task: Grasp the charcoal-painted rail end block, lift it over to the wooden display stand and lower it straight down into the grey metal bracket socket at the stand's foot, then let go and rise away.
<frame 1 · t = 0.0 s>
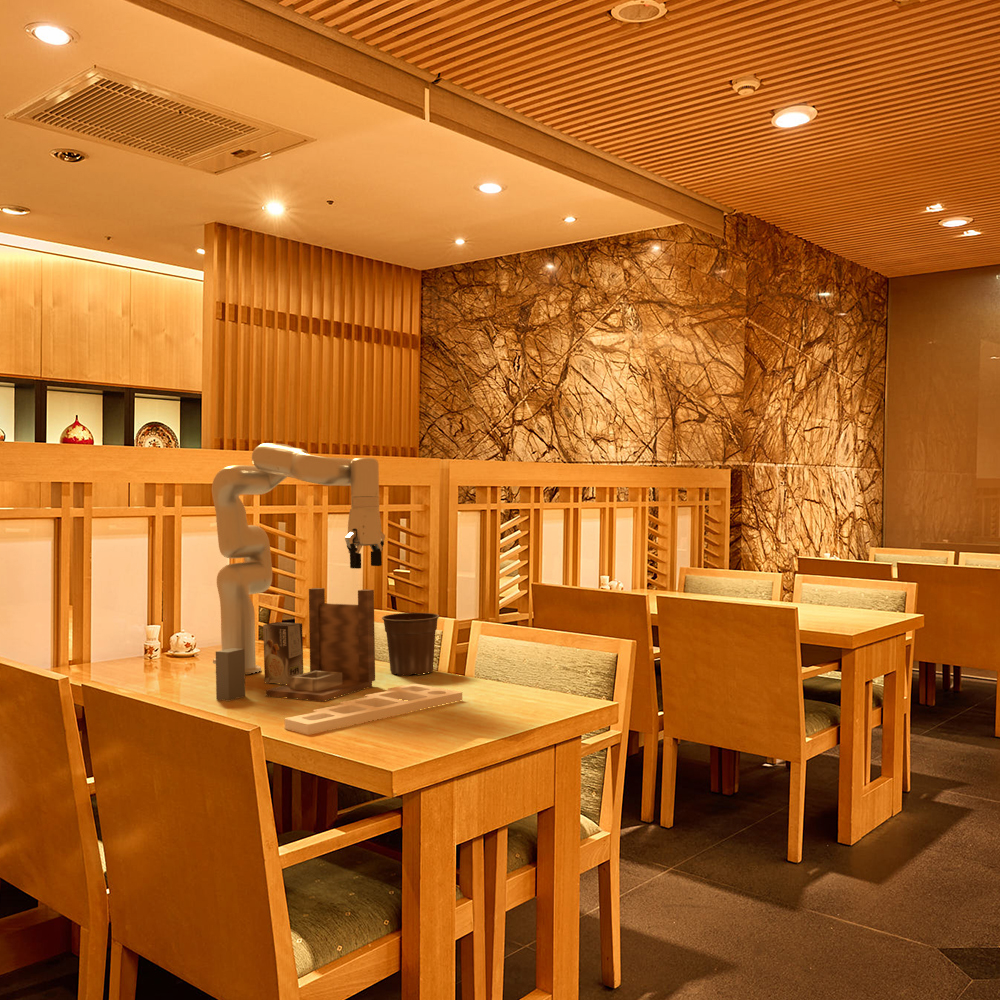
hand: (366, 567, 263), 31 cm above the table, tool pointing down, fingers open, 9 cm apart
wooden display stand: (316, 692, 251), on the table
holder: (366, 714, 227), on the table
plant pot: (411, 673, 278), on the table
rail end: (230, 697, 245), on the table
coffee box: (284, 683, 266), on the table
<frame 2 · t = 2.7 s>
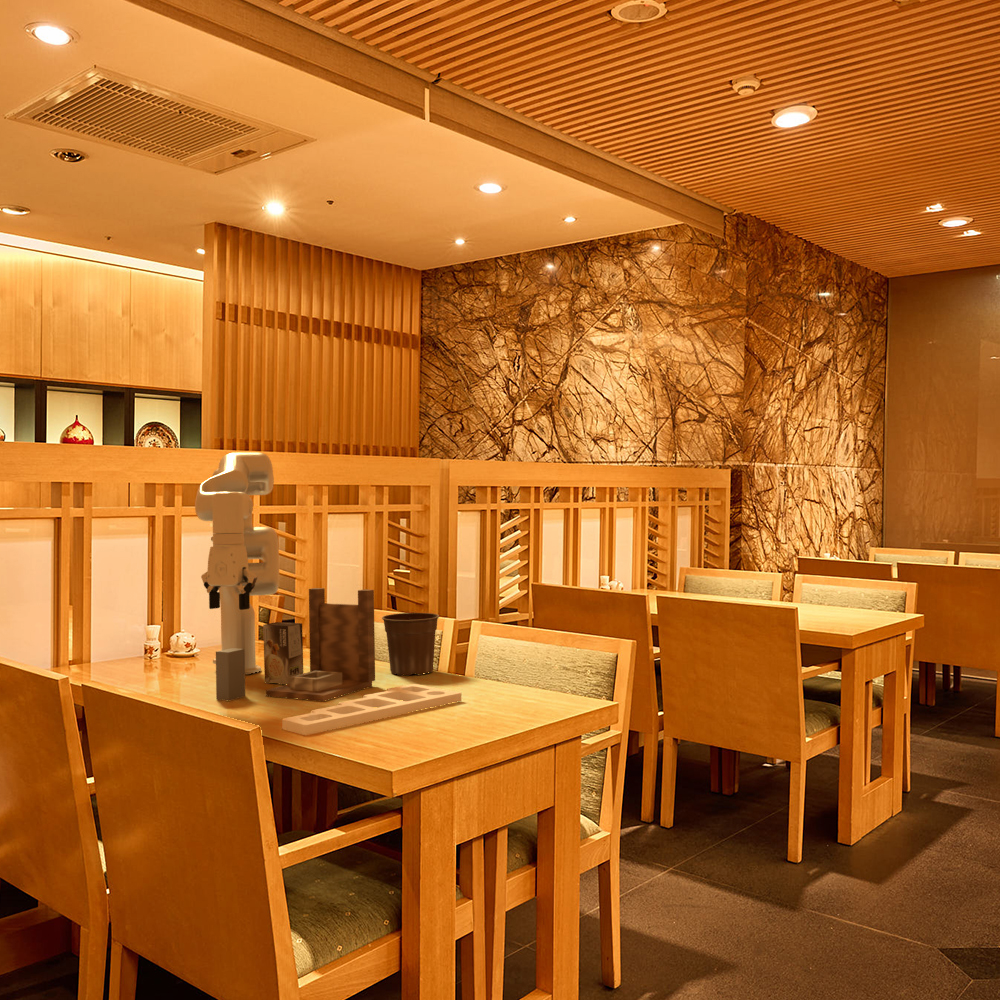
hand: (229, 608, 245), 22 cm above the table, tool pointing down, fingers open, 9 cm apart
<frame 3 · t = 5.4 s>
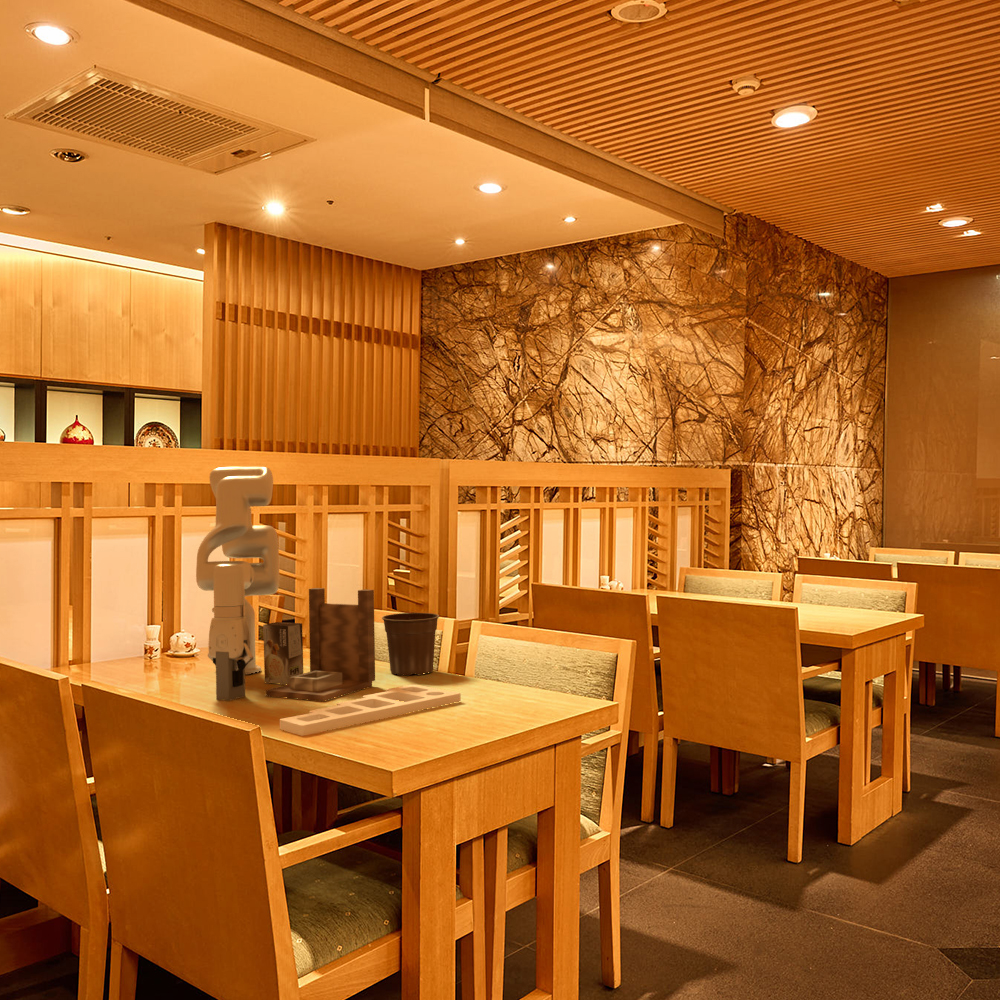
hand: (230, 684, 245), 3 cm above the table, tool pointing down, fingers closed on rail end, 4 cm apart
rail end: (230, 697, 245), on the table, touching gripper
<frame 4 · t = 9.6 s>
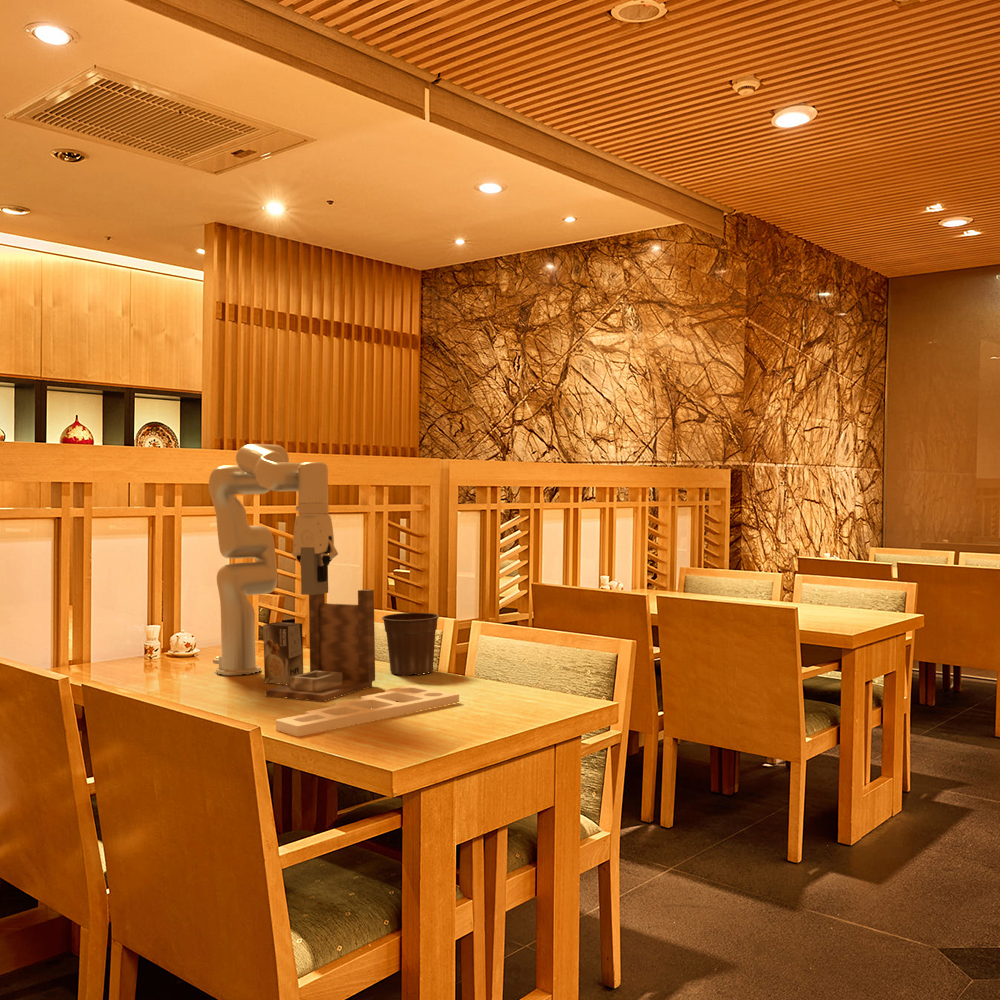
hand: (314, 580, 251), 29 cm above the table, tool pointing down, fingers closed on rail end, 4 cm apart
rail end: (314, 593, 251), point 25 cm above the table, touching gripper
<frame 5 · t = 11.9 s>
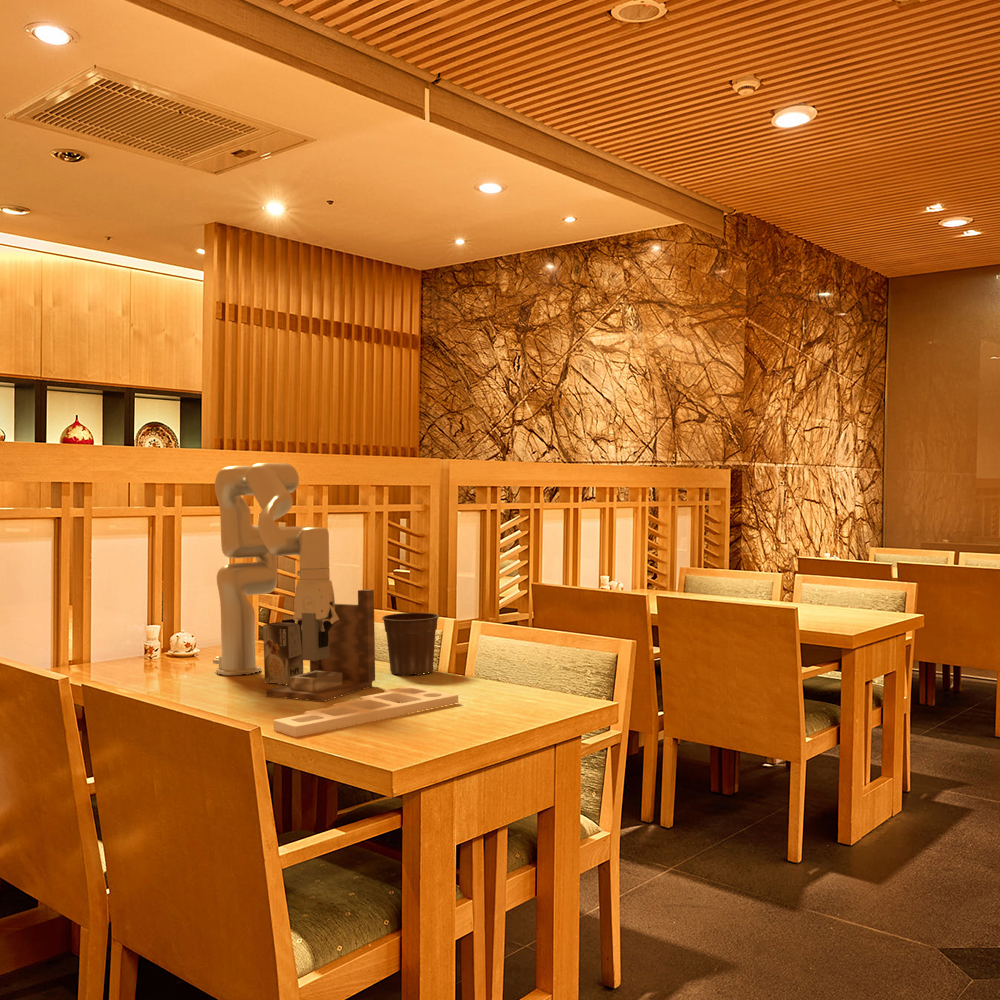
hand: (316, 645, 251), 12 cm above the table, tool pointing down, fingers closed on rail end, 4 cm apart
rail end: (316, 658, 251), point 9 cm above the table, touching gripper
when the fingers open (6 cm above the table, at t = 13.9 s): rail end stays where it is, resting on wooden display stand.
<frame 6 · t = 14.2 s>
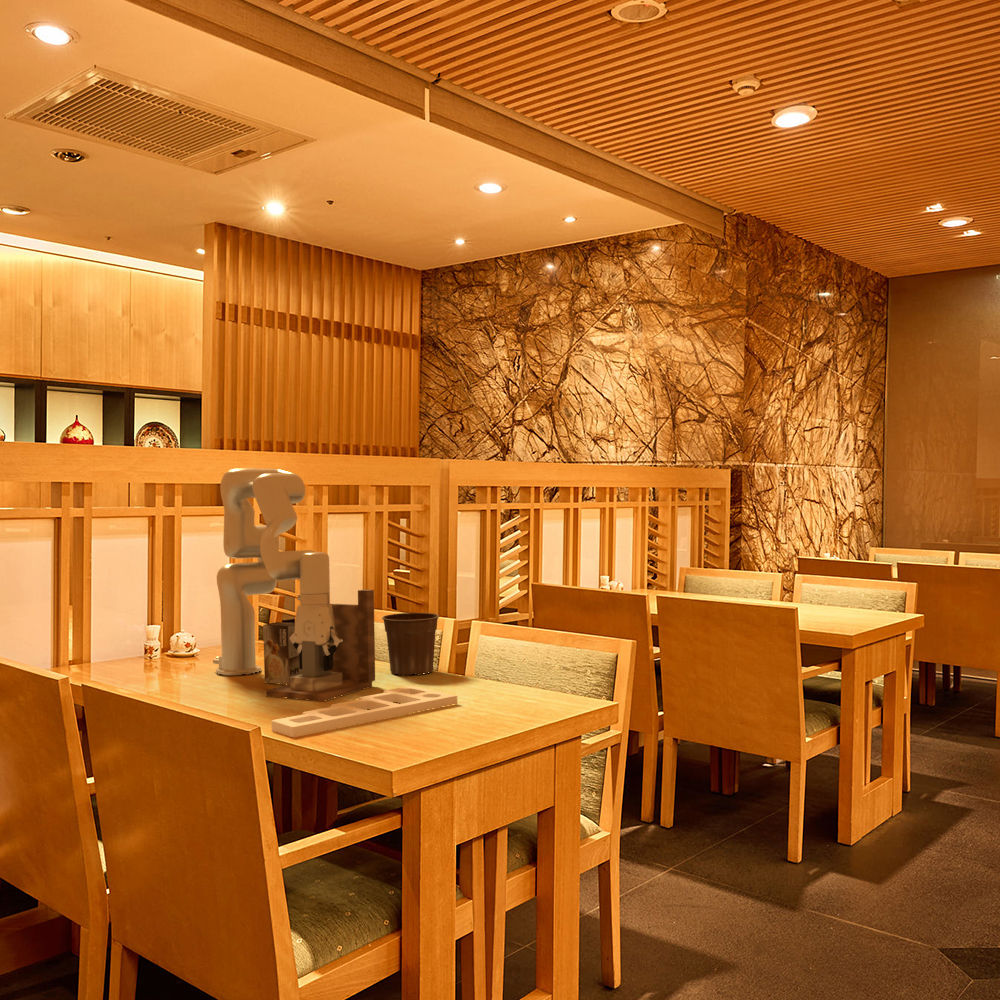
hand: (316, 668, 251), 6 cm above the table, tool pointing down, fingers open, 7 cm apart
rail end: (316, 686, 251), point 1 cm above the table, touching wooden display stand
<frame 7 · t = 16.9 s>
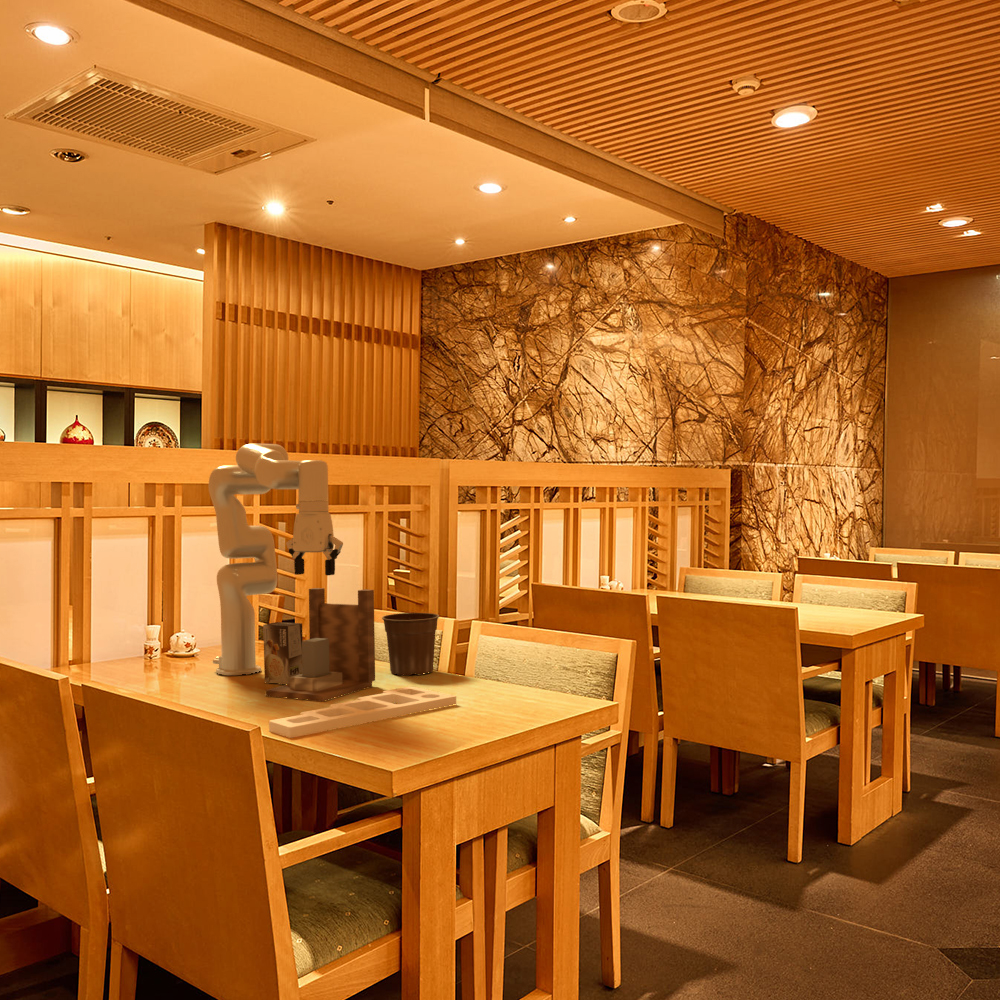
hand: (314, 574, 251), 30 cm above the table, tool pointing down, fingers open, 9 cm apart
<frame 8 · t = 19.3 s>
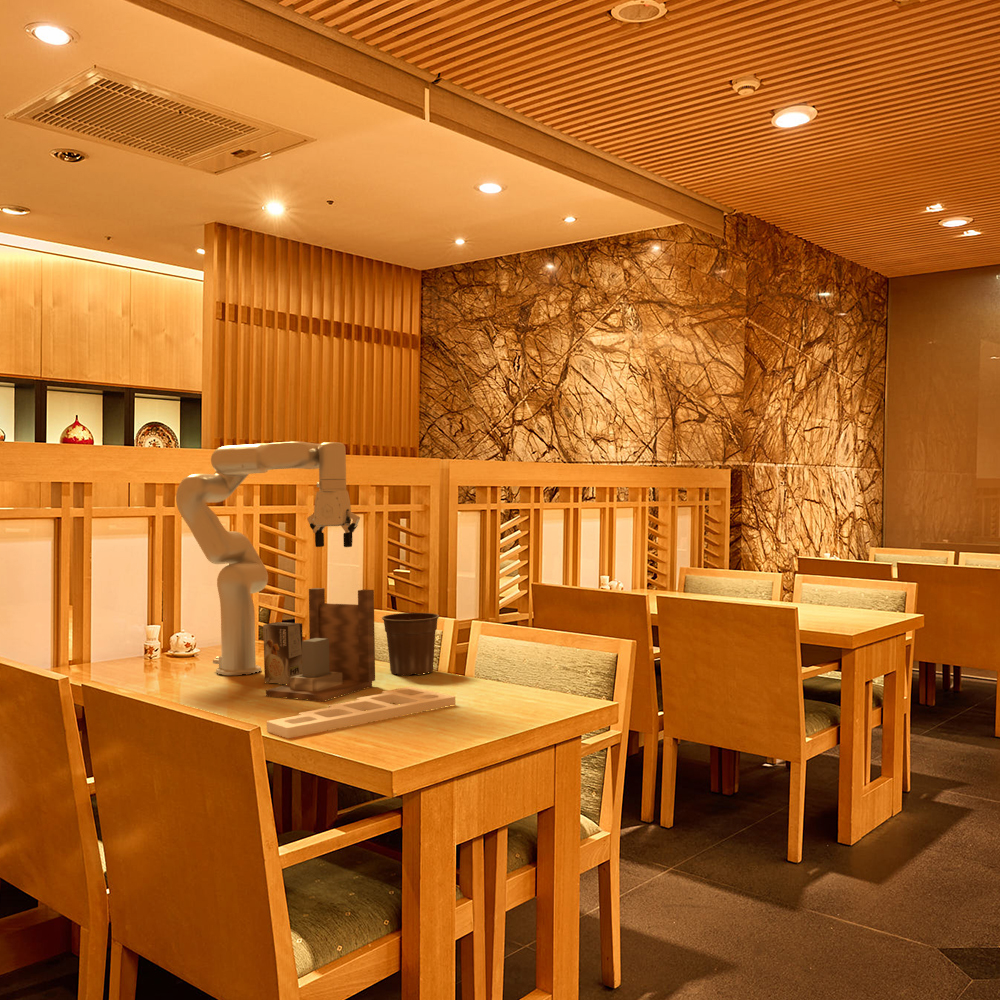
hand: (333, 546, 275), 36 cm above the table, tool pointing down, fingers open, 9 cm apart
at the end: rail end 0.1 cm off-centre on the wooden display stand, point 1.5 cm above the wooden display stand's base; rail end tilted 0°; the gripper is holding nothing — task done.
